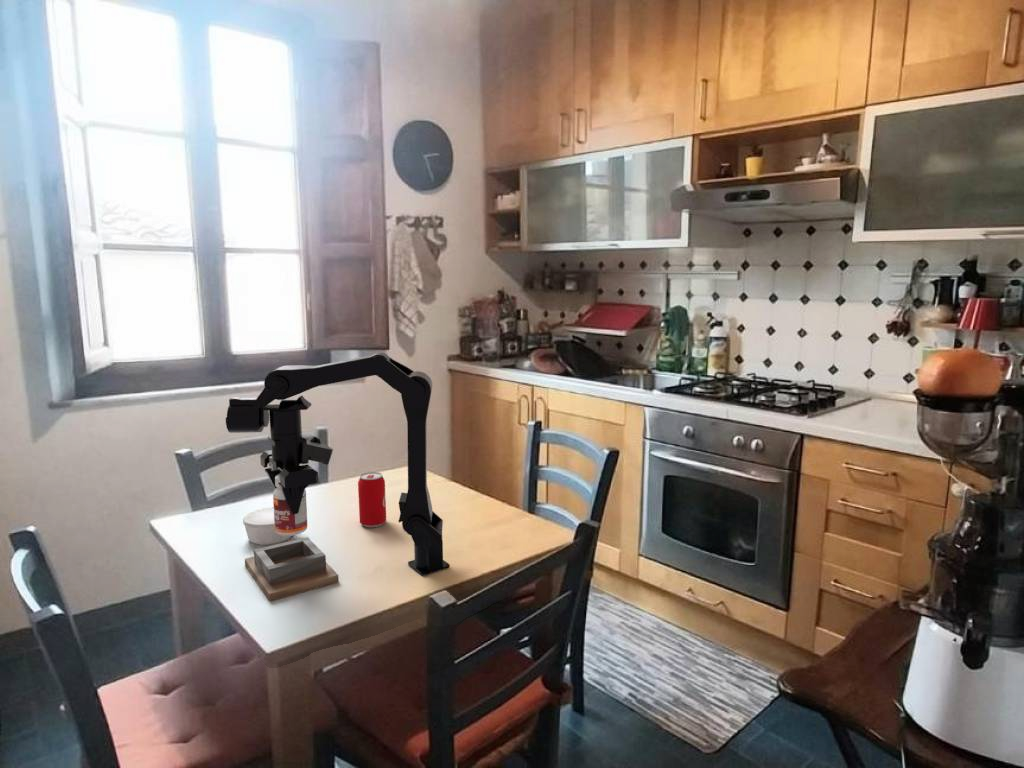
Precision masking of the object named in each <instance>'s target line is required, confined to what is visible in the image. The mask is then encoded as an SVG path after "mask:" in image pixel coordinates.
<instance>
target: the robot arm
mask: <svg viewBox="0 0 1024 768" xmlns="http://www.w3.org/2000/svg"><path fill="white" fill-rule="evenodd" d="M374 376H377V377H378V378H379V379H381V380H382V381H384V382H385V383H386V384H387V385H388V386H389V387H390V388H392V389H394V390H395V391H396V392H398V393H400V396H401V402H402V406H403V411H404V414H405V417H406V423H407V492H400V496H399V500H398V509H399V517H398V523H401V526H402V530H403V531H404V532H405V533H406V534H407V535H410V536H411V539H412V541H413V545H414V546H413V547H414V550H413V551H414V553H413V554H414V555H413V556H414V559H413V560H410V561H407V564H408V566H409V567H411V568H412V569H413V570H415V571H416V572H417V573H418V574H420V575H421V576H425V575H429V574H432V573H435V572H439V571H442V570H446V569H448V568H450V567H451V564H449V563H448V561H445V560H444V546H443V545H444V542H443V525H444V520H443V519H442V518H441V517H440V516H439V515H438V514H437V513H436V512H434V511H433V506H432V500H431V495H430V491H429V489H428V488H429V487H428V479H427V478H428V476H427V475H428V471H427V469H428V466H427V465H428V463H427V460H428V459H427V458H428V456H427V455H428V454H427V451H428V449H427V445H428V444H427V437H428V436H427V435H428V434H427V433H428V432H427V430H428V428H427V427H428V426H427V425H428V424H427V417H428V412H429V408H430V407H429V406H430V402H431V395H432V389H433V382H432V378H431V377H430V375H428V374H427V373H426V372H423V371H414V370H413V369H411V368H409V367H408V366H406V365H404V364H403V363H401V362H399V361H397V360H395V359H393V358H392V357H390V356H389V355H388V354H387V353H385V352H376V353H374V354H370V355H365V356H362V357H355V358H351V359H345V360H341V361H334V362H330V363H325V364H320V365H306V364H305V365H303V364H301V365H299V364H298V365H297V364H296V365H295V364H294V365H292V364H291V365H289V364H288V365H282V366H279V367H277V368H276V369H274V370H271V371H270V372H269V373H268V374H267V375H266V377H265V378H264V382H263V385H264V387H263V389H262V390H261V392H260V393H259V395H257V397H241V396H233V397H231V398H229V399H228V401H229V402H228V407H227V412H226V416H225V425H226V430H227V431H228V433H230V434H235V433H239V434H240V433H245V434H246V433H262V432H263V430H264V428H268V426H269V427H270V428H269V430H270V435H268V436H267V439H268V441H267V442H269V443H270V447H271V448H270V450H269V449H268V450H264V451H263V452H262V454H261V455H259V457H260V466H262V467H263V468H264V472H265V474H266V475H267V477H268V479H269V480H270V483H271V484H272V486H273V488H274V490H275V489H276V488H277V487H276V486H275V477H276V476H277V475H279V476H280V483H278V484H279V486H280V489H281V491H282V493H283V495H284V497H285V500H286V502H287V504H288V506H289V508H290V510H291V512H292V514H298V512H299V508H300V504H301V500H302V496H303V493H304V490H306V488H308V487H309V486H310V485H314V484H315V485H316V484H318V483H319V472H318V471H317V470H315V469H314V468H313V467H312V466H310V465H309V462H310V461H312V462H316V463H320V464H321V463H322V465H327V466H328V465H329V464H330V461H331V458H332V455H333V451H334V448H332V447H331V446H328V445H327V444H325V443H322V442H321V439H320V437H317V436H314V435H310V436H309V437H308V438H306V437H305V436H304V435H303V431H302V429H303V427H302V411H307V410H308V409H309V408H310V407H311V406H312V403H311V402H310V401H308V400H307V399H306V398H305V396H304V395H300V394H303V393H304V392H307V391H309V390H311V389H315V388H317V387H320V386H326V385H331V384H336V383H341V382H346V381H352V380H357V379H361V378H368V377H374ZM297 395H300V396H298V398H297V399H289V398H292V397H295V396H297ZM275 400H278V401H280V402H279V403H277V404H275V403H274V404H271V403H272V402H273V401H275Z"/></svg>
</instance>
